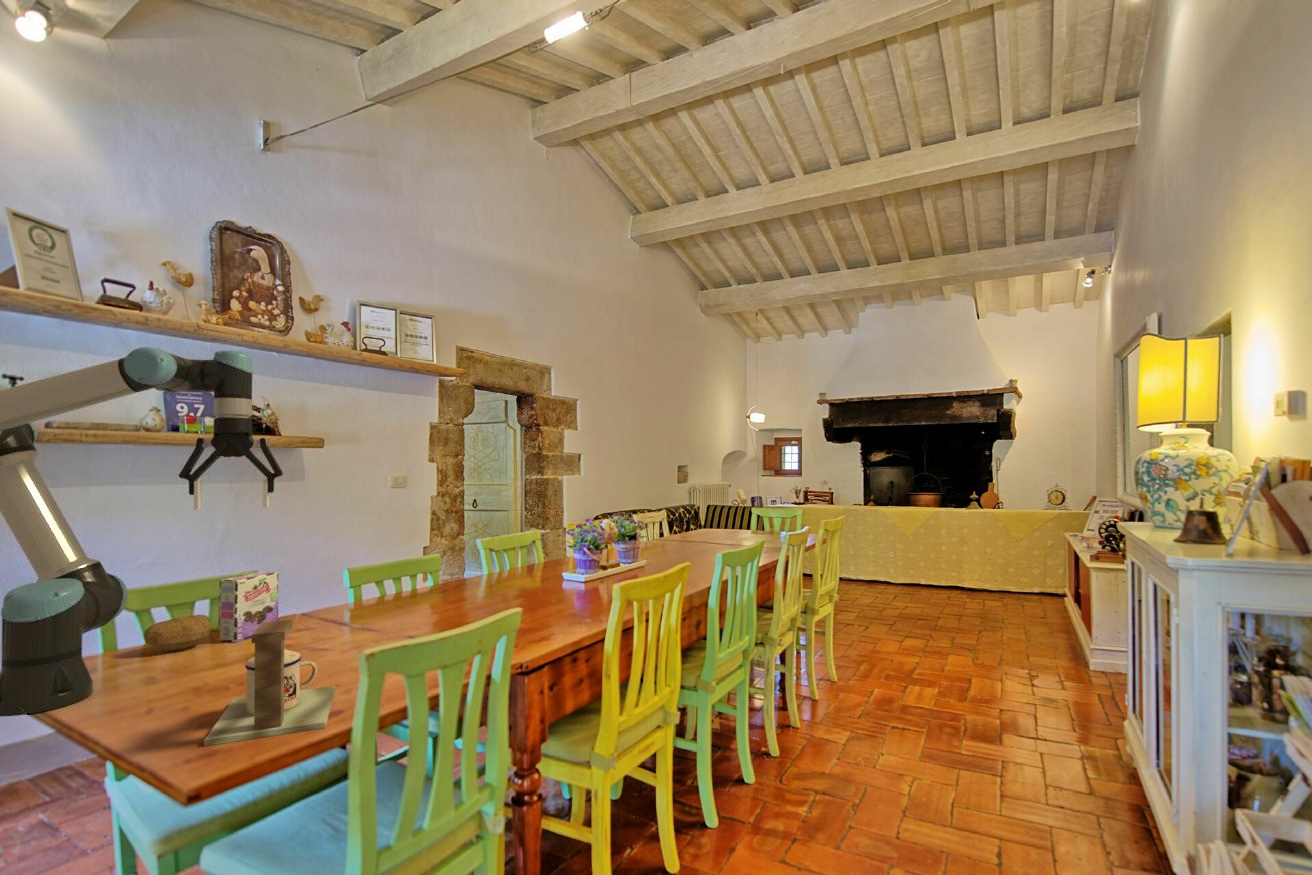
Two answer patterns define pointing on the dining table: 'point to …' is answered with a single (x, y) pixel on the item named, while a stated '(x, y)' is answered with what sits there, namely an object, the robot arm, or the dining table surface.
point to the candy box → (247, 604)
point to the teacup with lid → (290, 679)
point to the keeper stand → (271, 696)
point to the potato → (178, 633)
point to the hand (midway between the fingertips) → (232, 508)
